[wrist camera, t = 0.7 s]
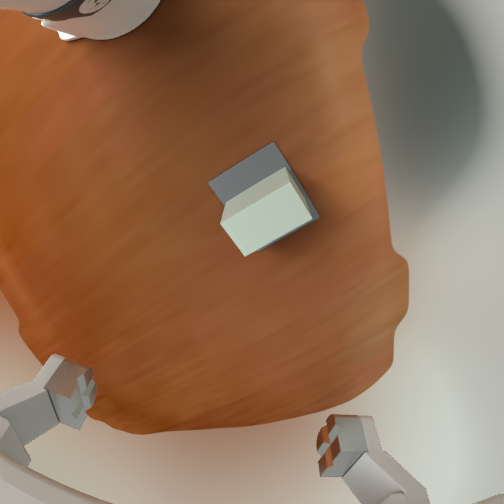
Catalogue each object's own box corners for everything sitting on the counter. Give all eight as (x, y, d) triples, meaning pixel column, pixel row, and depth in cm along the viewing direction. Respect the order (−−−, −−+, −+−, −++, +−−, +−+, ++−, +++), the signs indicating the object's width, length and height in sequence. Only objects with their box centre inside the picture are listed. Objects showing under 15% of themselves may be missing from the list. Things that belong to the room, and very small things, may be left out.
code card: (207, 182, 41) (207, 183, 41) (273, 141, 38) (273, 141, 38) (257, 251, 46) (257, 252, 46) (320, 216, 43) (320, 217, 43)
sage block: (226, 202, 42) (220, 223, 36) (285, 166, 40) (289, 181, 33) (246, 231, 44) (244, 256, 38) (304, 198, 42) (312, 218, 35)
